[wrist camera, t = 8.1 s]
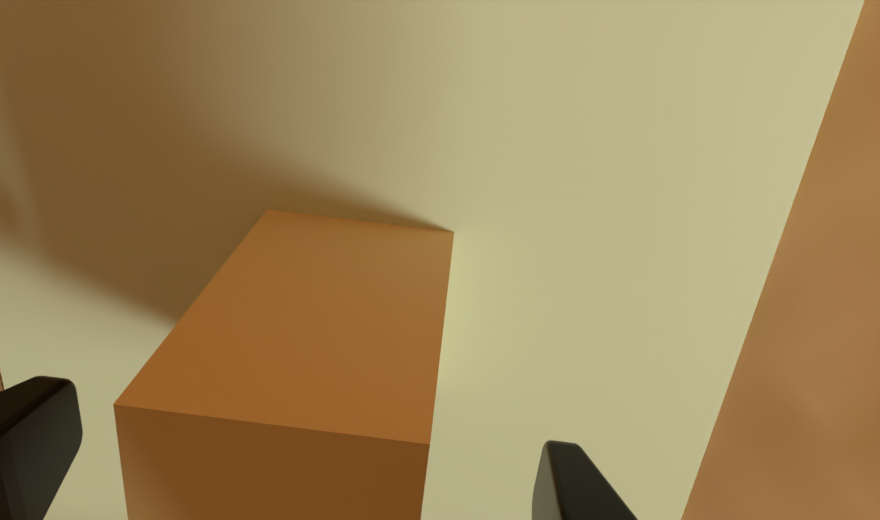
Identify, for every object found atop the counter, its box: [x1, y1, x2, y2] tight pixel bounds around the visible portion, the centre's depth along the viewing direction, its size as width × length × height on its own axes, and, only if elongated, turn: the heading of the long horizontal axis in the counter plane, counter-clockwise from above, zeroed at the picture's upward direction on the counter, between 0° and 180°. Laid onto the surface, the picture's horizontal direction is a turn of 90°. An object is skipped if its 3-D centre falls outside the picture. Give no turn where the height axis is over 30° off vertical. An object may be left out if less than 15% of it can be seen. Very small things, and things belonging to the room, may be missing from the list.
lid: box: [0, 0, 864, 520], centre depth 10 cm, size 13×13×6 cm
